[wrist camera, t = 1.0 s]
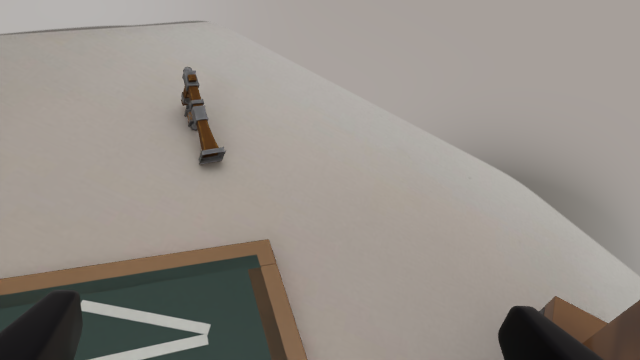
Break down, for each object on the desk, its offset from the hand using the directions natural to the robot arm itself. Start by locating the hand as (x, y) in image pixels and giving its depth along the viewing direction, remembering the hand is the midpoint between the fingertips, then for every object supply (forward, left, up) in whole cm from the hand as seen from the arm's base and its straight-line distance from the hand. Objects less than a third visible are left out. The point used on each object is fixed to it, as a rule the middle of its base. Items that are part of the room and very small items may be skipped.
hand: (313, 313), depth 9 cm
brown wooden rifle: (+25, -2, -17) cm, 30 cm away
